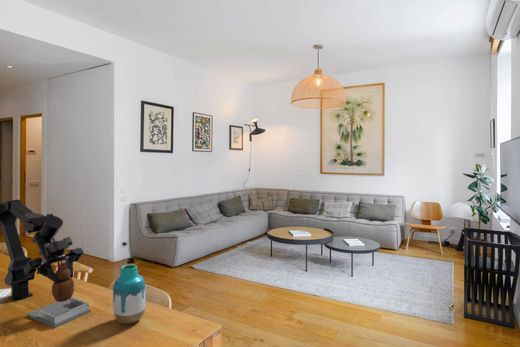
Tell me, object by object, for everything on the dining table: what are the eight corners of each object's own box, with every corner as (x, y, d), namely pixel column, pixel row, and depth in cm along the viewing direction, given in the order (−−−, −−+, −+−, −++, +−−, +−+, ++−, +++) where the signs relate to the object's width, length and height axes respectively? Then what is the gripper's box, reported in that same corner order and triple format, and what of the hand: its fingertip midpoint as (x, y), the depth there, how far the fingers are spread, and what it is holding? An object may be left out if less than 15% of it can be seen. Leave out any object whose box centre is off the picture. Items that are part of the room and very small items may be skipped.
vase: (152, 316, 118) (151, 263, 117) (132, 330, 108) (130, 273, 107) (128, 311, 122) (127, 260, 121) (106, 325, 112) (104, 270, 111)
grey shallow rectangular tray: (26, 316, 118) (26, 306, 118) (63, 301, 130) (62, 293, 129) (54, 328, 110) (54, 317, 110) (90, 311, 121) (90, 302, 121)
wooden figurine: (58, 305, 114) (56, 263, 113) (49, 301, 117) (48, 260, 116) (77, 298, 120) (76, 257, 119) (68, 294, 123) (67, 255, 122)
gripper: (26, 237, 111) (45, 275, 106) (80, 226, 127) (98, 259, 122) (15, 256, 115) (33, 294, 111) (69, 243, 132) (86, 276, 127)
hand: (65, 279), depth 118 cm, fingers closed on wooden figurine, 5 cm apart
